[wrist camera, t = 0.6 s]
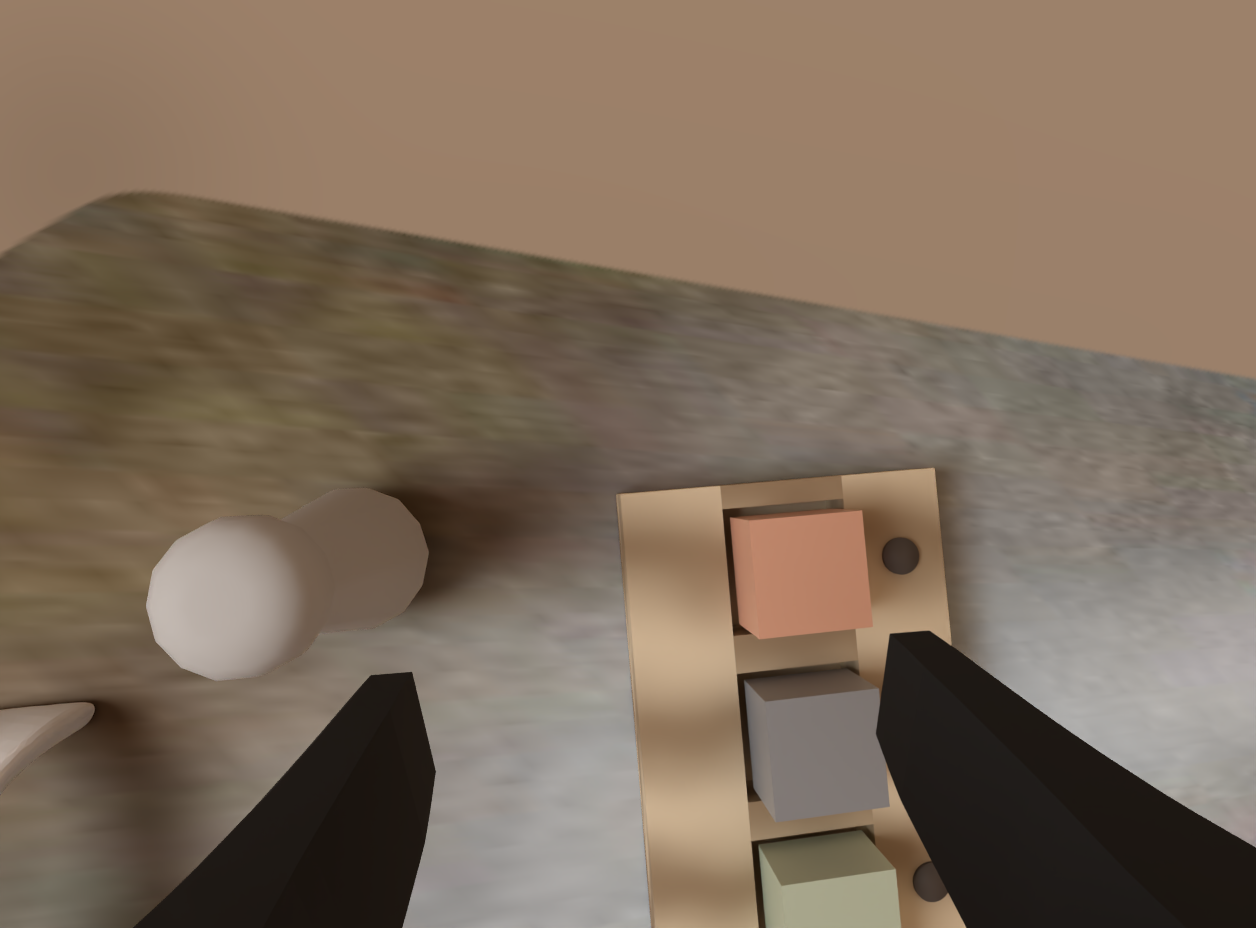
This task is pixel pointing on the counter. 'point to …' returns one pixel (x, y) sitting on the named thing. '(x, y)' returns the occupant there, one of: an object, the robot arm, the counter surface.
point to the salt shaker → (284, 582)
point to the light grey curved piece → (36, 733)
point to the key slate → (815, 744)
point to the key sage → (828, 883)
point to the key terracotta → (801, 572)
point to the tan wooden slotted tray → (729, 654)
